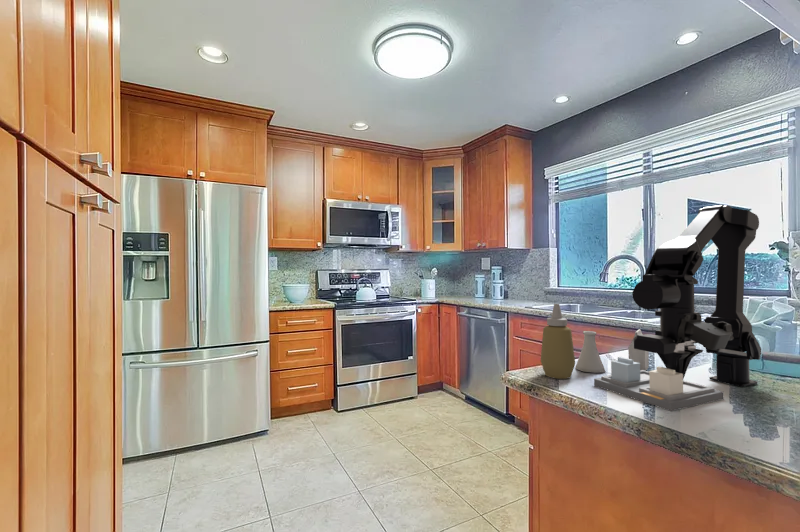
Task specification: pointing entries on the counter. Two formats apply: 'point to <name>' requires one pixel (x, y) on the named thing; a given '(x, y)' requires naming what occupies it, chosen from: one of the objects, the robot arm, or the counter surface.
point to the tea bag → (639, 354)
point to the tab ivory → (666, 381)
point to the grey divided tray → (642, 392)
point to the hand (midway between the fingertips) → (677, 382)
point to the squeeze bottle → (557, 347)
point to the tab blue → (625, 370)
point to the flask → (589, 355)
